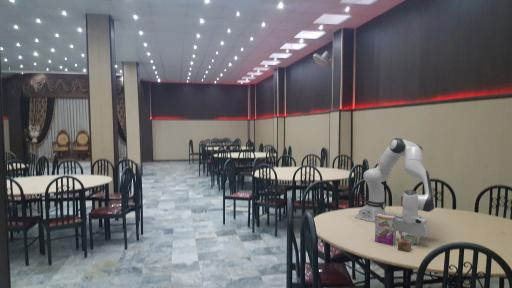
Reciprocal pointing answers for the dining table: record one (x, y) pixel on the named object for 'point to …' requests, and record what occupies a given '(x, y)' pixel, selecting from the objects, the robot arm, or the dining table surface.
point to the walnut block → (404, 245)
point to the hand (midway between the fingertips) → (409, 240)
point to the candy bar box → (385, 229)
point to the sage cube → (410, 238)
